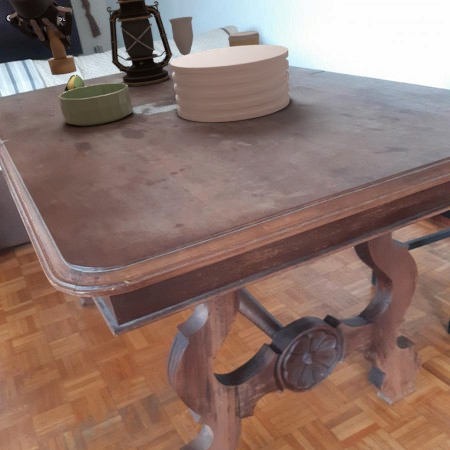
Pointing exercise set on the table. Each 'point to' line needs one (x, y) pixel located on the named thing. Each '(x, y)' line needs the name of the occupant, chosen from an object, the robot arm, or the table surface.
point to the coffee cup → (244, 38)
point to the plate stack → (231, 83)
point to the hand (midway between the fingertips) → (60, 46)
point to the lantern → (139, 42)
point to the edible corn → (74, 82)
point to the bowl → (96, 104)
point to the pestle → (59, 56)
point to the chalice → (182, 34)
